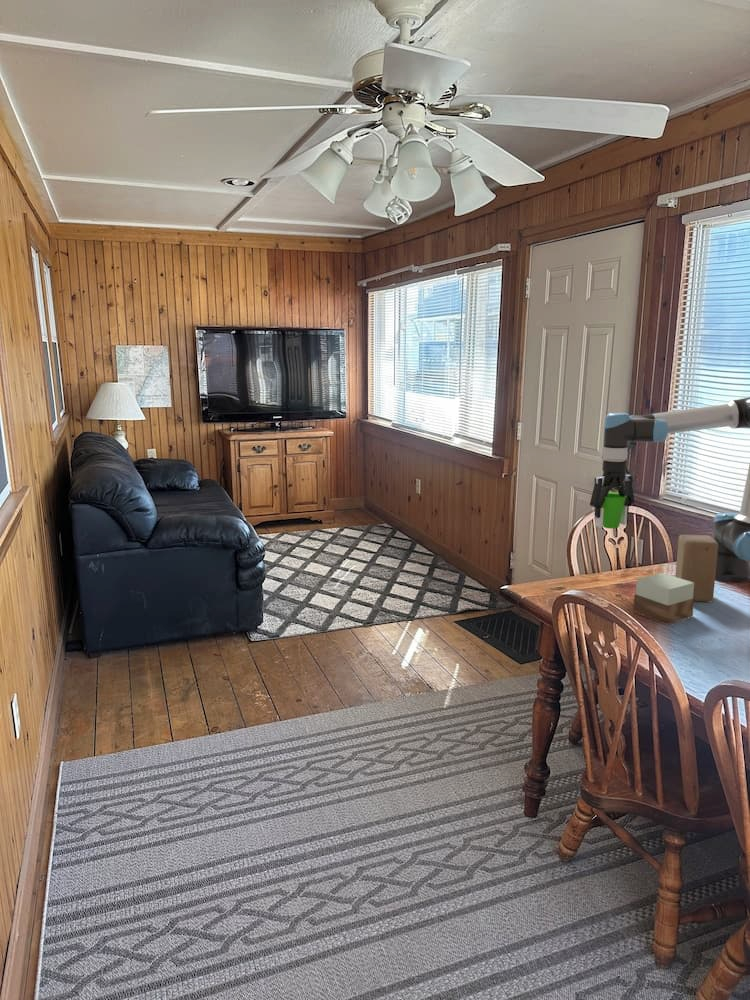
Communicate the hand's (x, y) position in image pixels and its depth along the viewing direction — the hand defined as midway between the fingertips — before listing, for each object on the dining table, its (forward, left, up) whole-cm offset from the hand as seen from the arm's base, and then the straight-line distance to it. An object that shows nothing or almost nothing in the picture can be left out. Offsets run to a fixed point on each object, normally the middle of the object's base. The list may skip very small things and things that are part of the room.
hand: (610, 525), depth 230 cm
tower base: (+2, +28, -22) cm, 36 cm away
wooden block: (-18, +20, -22) cm, 35 cm away
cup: (0, 0, -1) cm, 1 cm away
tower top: (+2, +28, -16) cm, 32 cm away
